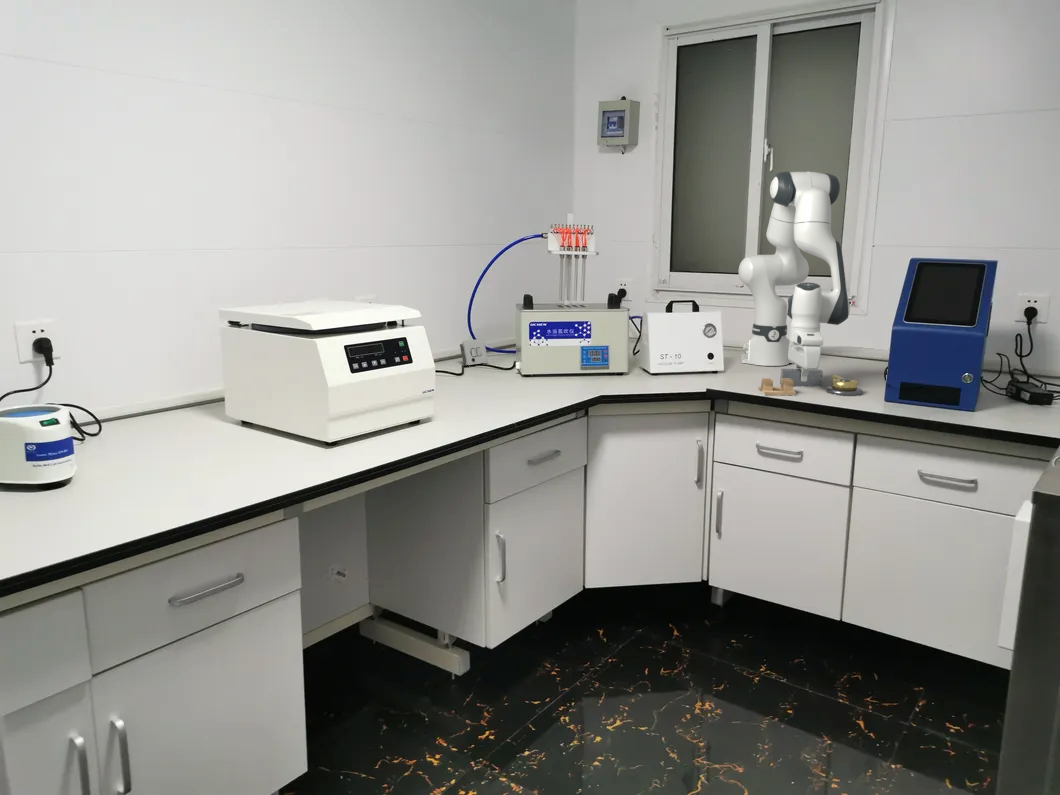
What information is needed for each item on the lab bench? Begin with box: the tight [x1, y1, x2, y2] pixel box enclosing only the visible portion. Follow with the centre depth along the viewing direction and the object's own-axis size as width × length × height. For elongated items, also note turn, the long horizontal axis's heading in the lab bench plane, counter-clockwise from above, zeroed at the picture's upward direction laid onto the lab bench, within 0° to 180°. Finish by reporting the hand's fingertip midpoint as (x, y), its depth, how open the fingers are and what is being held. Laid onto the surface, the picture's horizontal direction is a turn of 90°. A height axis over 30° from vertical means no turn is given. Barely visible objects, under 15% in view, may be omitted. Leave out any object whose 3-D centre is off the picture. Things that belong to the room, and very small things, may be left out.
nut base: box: [826, 385, 863, 397], centre depth 239 cm, size 10×10×1 cm
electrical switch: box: [459, 338, 489, 366], centre depth 285 cm, size 9×5×9 cm, turn 132°
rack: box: [757, 377, 797, 396], centre depth 238 cm, size 8×9×4 cm
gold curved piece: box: [831, 374, 858, 391], centre depth 241 cm, size 12×7×3 cm, turn 178°
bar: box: [779, 368, 824, 388], centre depth 249 cm, size 3×12×5 cm, turn 83°
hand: (801, 379), depth 249 cm, fingers closed on bar, 3 cm apart
